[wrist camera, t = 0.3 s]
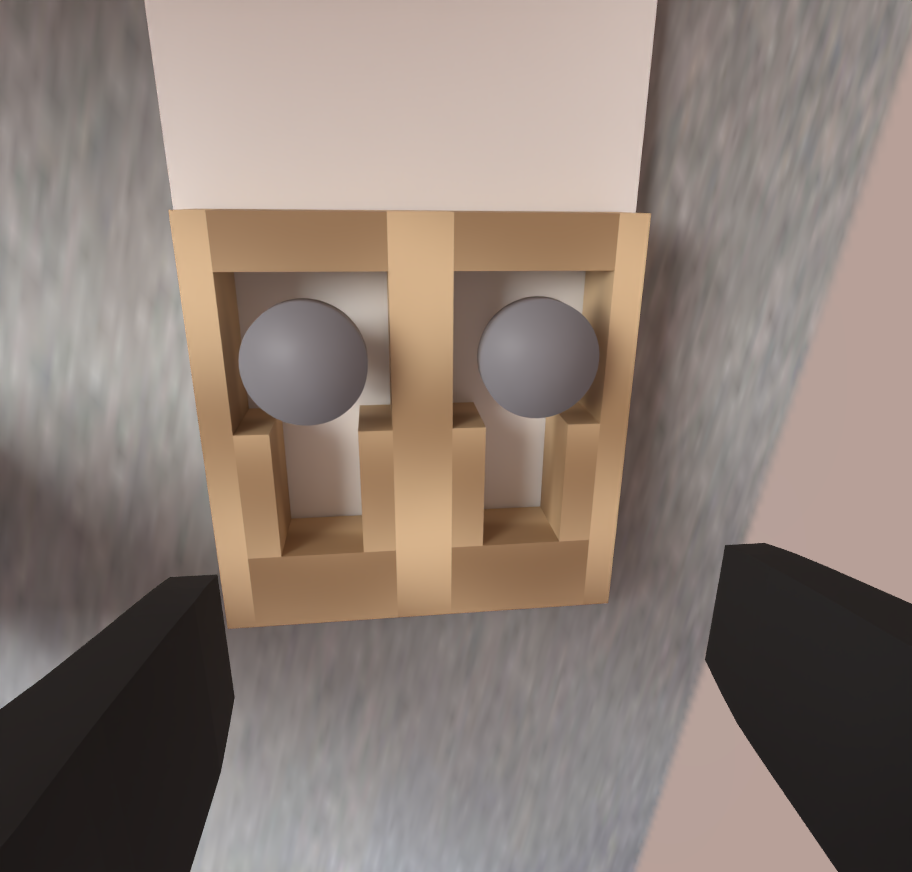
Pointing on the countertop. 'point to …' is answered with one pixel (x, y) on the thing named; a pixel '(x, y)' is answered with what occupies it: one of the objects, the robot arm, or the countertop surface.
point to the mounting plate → (405, 194)
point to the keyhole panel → (410, 419)
